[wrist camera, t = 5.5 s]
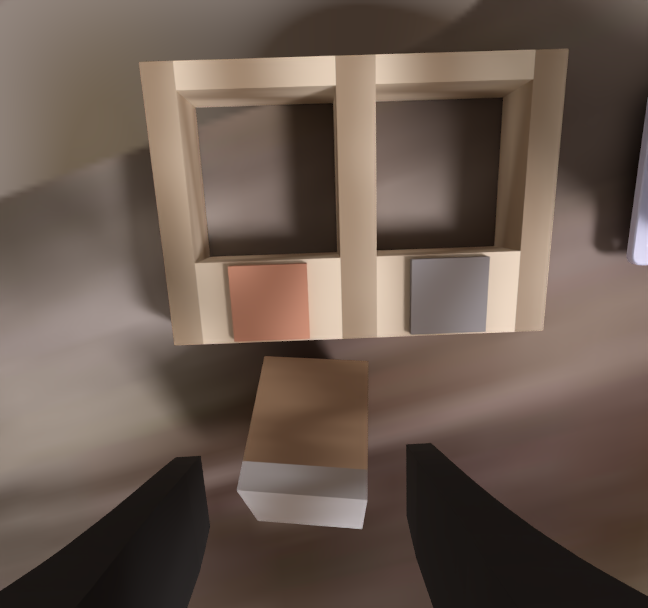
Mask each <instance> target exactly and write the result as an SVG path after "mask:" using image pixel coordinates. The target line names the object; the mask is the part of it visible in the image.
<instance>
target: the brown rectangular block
mask: <svg viewBox="0 0 648 608" xmlns="http://www.w3.org/2000/svg"><path fill="white" fill-rule="evenodd" d="M367 464H368V361H355V360H334V359H313V358H292V357H272V356H264V361H263V366H262V371H261V376H260V380H259V385H258V390H257V395H256V400H255V405H254V409H253V414H252V419H251V424H250V429H249V434H248V439H247V443H246V448H245V453H244V458H243V463H242V468H241V473H240V477H239V482H238V487H237V491H238V493H239V494H240V496H241V497H242V498H243V500H244V501H245V503H246V504H247V506H248V507H249V509H250V510H251V512H252V513H253V514H254V516H255V517H256V519H257V520H258V521H269V522H281V523H294V524H306V525H319V526H331V527H343V528H356V529H362V527H363V521H364V516H365V510H366V504H367Z"/></svg>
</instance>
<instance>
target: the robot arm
mask: <svg viewBox="0 0 648 608" xmlns="http://www.w3.org/2000/svg"><path fill="white" fill-rule="evenodd" d="M627 259H628V261H629V262H630V263H631V264H636V265H648V99H647V106H646V114H645V121H644V128H643V136H642V143H641V151H640V158H639V166H638V173H637V180H636V188H635V195H634V203H633V210H632V218H631V225H630V232H629V240H628V247H627ZM406 474H407V519H408V524H409V528H410V533H411V537H412V542H413V546H414V550H415V554H416V558H417V561H418V564H419V567H420V570H421V573H422V576H423V579H424V582H425V585H426V588H427V591H428V593H429V596H430V599H431V602H432V605H433V608H648V596H646V595H644V594H643V593H641V592H639V591H637V590H635V589H634V588H632V587H630V586H628V585H626V584H625V583H623V582H621V581H619V580H617V579H616V578H614V577H612V576H610V575H608V574H607V573H605V572H603V571H601V570H600V569H598V568H596V567H595V566H593V565H591V564H590V563H588V562H586V561H584V560H583V559H581V558H580V557H578V556H576V555H575V554H573V553H572V552H570V551H569V550H567V549H566V548H564V547H562V546H561V545H559V544H558V543H556V542H555V541H553V540H552V539H550V538H548V537H547V536H545V535H544V534H543V533H541V532H540V531H538V530H537V529H535V528H534V527H532V526H531V525H530V524H528V523H527V522H525V521H524V520H523V519H521V518H520V517H519V516H517V515H516V514H515V513H513V512H512V511H511V510H509V509H508V508H507V507H505V506H504V505H503V504H501V503H500V502H499V501H498V500H496V499H495V498H494V497H493V496H491V495H490V494H489V493H488V492H486V491H485V490H484V489H483V488H482V487H480V486H479V485H478V484H477V483H476V482H474V481H473V480H472V479H471V478H470V477H469V476H467V475H466V474H465V473H464V472H463V471H462V470H461V469H459V468H458V467H457V466H456V465H455V464H454V463H453V462H451V461H450V460H449V459H448V458H447V457H446V456H445V455H444V454H443V453H441V452H440V451H439V450H438V449H437V448H436V447H435V446H434V445H432V444H431V443H426V444H408V445H406ZM209 529H210V523H209V515H208V508H207V500H206V493H205V485H204V478H203V470H202V463H201V456H192V457H176V458H175V459H173V460H172V461H171V462H169V463H168V464H167V465H166V466H164V467H163V468H162V469H161V470H159V471H158V472H157V473H156V474H155V475H154V476H152V477H151V478H150V479H149V480H148V481H147V482H145V483H144V484H143V485H142V486H141V487H139V488H138V489H137V490H136V491H135V492H133V493H132V494H131V495H130V496H129V497H127V498H126V499H125V500H124V501H123V502H121V503H120V504H119V505H118V506H117V507H115V508H114V509H113V510H112V511H111V512H109V513H108V514H107V515H106V516H104V517H103V518H102V519H100V520H99V521H98V522H97V523H95V524H94V525H93V526H91V527H90V528H89V529H87V530H86V531H85V532H84V533H82V534H81V535H80V536H78V537H77V538H76V539H75V540H73V541H72V542H71V543H69V544H68V545H67V546H65V547H64V548H63V549H61V550H60V551H59V552H57V553H56V554H54V555H53V556H52V557H50V558H49V559H47V560H46V561H44V562H43V563H42V564H40V565H39V566H37V567H36V568H34V569H33V570H31V571H30V572H28V573H27V574H25V575H24V576H22V577H21V578H19V579H18V580H16V581H15V582H13V583H12V584H10V585H9V586H7V587H6V588H4V589H3V590H1V591H0V608H187V606H188V604H189V601H190V598H191V595H192V592H193V589H194V586H195V583H196V581H197V578H198V575H199V572H200V568H201V564H202V560H203V556H204V552H205V547H206V542H207V538H208V533H209Z"/></svg>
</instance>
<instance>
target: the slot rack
mask: <svg viewBox="0 0 648 608" xmlns="http://www.w3.org/2000/svg"><path fill="white" fill-rule="evenodd" d="M568 53H569V49H538V50H505V51H473V52H441V53H408V54H376V55H346V56H345V55H344V56H316V57H315V56H313V57H280V58H249V59H248V58H247V59H215V60H185V61H151V62H139V67H140V76H141V83H142V92H143V99H144V107H145V115H146V124H147V132H148V140H149V148H150V155H151V163H152V171H153V179H154V187H155V195H156V203H157V211H158V219H159V227H160V235H161V243H162V251H163V259H164V267H165V275H166V283H167V291H168V299H169V307H170V315H171V323H172V331H173V339H174V345H199V344H224V343H248V342H273V341H298V340H322V339H347V338H372V337H397V336H421V335H446V334H471V333H496V332H520V331H543V325H544V314H545V303H546V293H547V282H548V271H549V260H550V249H551V238H552V227H553V216H554V205H555V194H556V183H557V173H558V162H559V151H560V140H561V129H562V118H563V107H564V96H565V85H566V74H567V63H568ZM472 98H503V110H502V126H501V143H500V159H499V176H498V193H497V209H496V226H495V243H494V246H484V247H457V248H430V249H404V250H377V232H376V102H380V101H411V100H441V99H472ZM318 103H333V120H334V156H335V192H336V228H337V252H324V253H297V254H270V255H244V256H217V257H210V249H209V239H208V229H207V219H206V209H205V199H204V188H203V178H202V168H201V158H200V148H199V138H198V128H197V119H196V108H195V107H225V106H257V105H288V104H318Z"/></svg>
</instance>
